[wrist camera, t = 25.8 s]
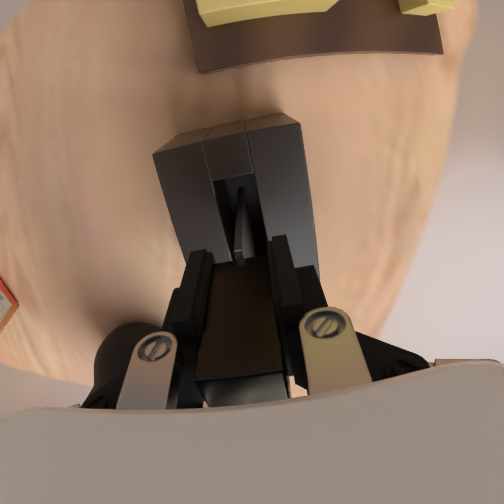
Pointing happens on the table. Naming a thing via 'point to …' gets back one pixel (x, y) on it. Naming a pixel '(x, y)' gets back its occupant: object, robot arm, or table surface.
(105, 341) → the cola bottle
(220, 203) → the knife block
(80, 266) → the table surface
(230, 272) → the knife
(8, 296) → the cracker box
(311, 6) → the butter
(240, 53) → the board
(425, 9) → the butter pat
